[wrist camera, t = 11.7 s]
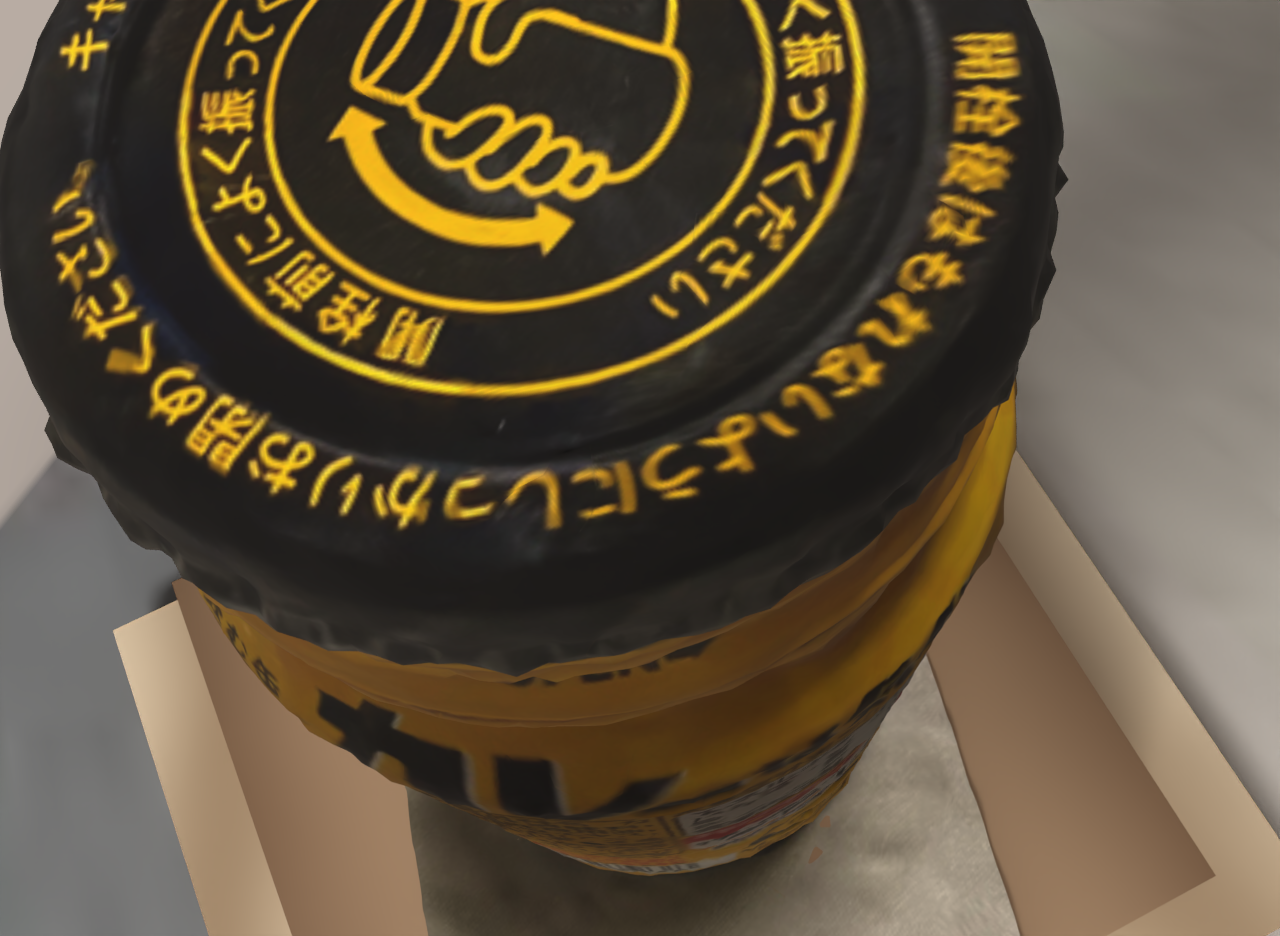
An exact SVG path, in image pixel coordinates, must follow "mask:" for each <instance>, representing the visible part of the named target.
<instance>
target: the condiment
mask: <svg viewBox="0 0 1280 936" xmlns="http://www.w3.org/2000/svg"><path fill="white" fill-rule="evenodd" d="M1063 137H1064V130H1063V123H1062V117H1061V110H1060V103H1059V97H1058V93H1057V89H1056V84H1055V80H1054V76H1053V72H1052V68H1051V64H1050V61H1049V57H1048V54H1047V50H1046V47H1045V43H1044V40H1043V38H1042V35H1041V33H1040V31H1039V29H1038V26H1037V24H1036V22H1035V20H1034V18H1033V15H1032V13H1031V11H1030V8H1029V6H1028V3H1027V1H1026V0H59V2H58V4H57V6H56V7H55V9H54V11H53V13H52V14H51V16H50V18H49V20H48V22H47V24H46V26H45V28H44V29H43V31H42V33H41V35H40V37H39V39H38V42H37V46H36V49H35V53H34V56H33V60H32V63H31V66H30V69H29V72H28V75H27V78H26V81H25V84H24V87H23V90H22V91H21V94H20V95H19V98H18V99H17V101H16V103H15V105H14V107H13V109H12V111H11V113H10V115H9V117H8V120H7V123H6V128H5V131H4V135H3V138H2V142H1V148H0V271H1V278H2V286H3V296H4V305H5V310H6V314H7V318H8V323H9V327H10V331H11V335H12V339H13V341H14V343H15V345H16V347H17V349H18V351H19V353H20V355H21V357H22V359H23V362H24V364H25V366H26V369H27V371H28V374H29V376H30V379H31V381H32V384H33V385H34V387H35V389H36V391H37V393H38V395H39V396H40V398H41V400H42V402H43V403H44V405H45V407H46V409H47V411H48V413H49V415H50V417H49V419H48V422H47V425H46V427H45V432H46V434H47V436H48V438H49V440H50V442H51V443H52V446H53V448H54V451H55V453H56V456H57V458H59V459H60V460H62V461H64V462H66V463H68V464H69V465H71V466H73V467H75V468H77V469H79V470H81V471H84V472H86V473H88V474H91V475H92V476H93V477H94V479H95V480H96V481H97V482H98V485H99V488H100V491H101V493H102V496H103V499H104V500H105V502H106V504H107V505H108V507H109V509H110V511H111V512H112V514H113V515H114V517H115V518H116V520H117V521H118V523H119V524H120V526H121V527H122V528H123V530H124V531H125V533H126V534H127V536H128V537H129V539H130V540H131V541H133V542H134V543H136V544H138V545H139V546H141V547H143V548H145V549H149V550H161V551H163V552H164V553H166V554H167V555H168V556H170V557H171V558H172V559H173V561H174V563H175V565H176V567H177V569H178V571H179V573H180V575H181V577H182V578H183V579H185V580H187V581H189V582H191V583H193V584H194V585H195V586H197V588H198V590H199V592H200V595H201V596H202V598H203V599H204V601H205V602H206V604H207V605H208V607H209V609H210V610H211V612H212V613H213V615H214V617H215V619H216V620H217V622H218V624H219V626H220V627H221V629H222V631H223V633H224V634H225V635H226V637H227V638H228V639H229V641H230V642H231V644H232V645H233V646H234V648H235V649H236V651H237V652H238V653H239V655H240V656H241V658H242V659H243V661H244V662H245V663H246V665H247V666H248V667H249V668H250V669H251V670H252V671H253V673H254V674H255V675H256V676H257V678H258V679H259V680H260V681H261V682H262V684H263V685H264V686H265V687H266V688H267V689H268V690H269V691H270V692H271V694H272V695H273V696H274V697H275V698H276V699H277V700H278V701H279V702H280V703H281V704H282V705H283V706H284V707H285V708H286V709H287V710H288V711H289V712H291V713H292V714H294V715H295V716H297V717H298V718H299V719H300V721H301V722H302V724H303V725H304V726H305V728H306V729H307V730H308V731H309V732H311V733H312V734H314V735H316V736H318V737H320V738H322V739H324V740H326V741H327V742H329V743H331V744H333V745H335V746H337V747H340V748H342V749H344V750H347V751H348V752H350V753H352V754H353V755H354V756H355V757H356V758H357V759H358V760H359V761H360V762H361V763H362V764H364V765H366V766H368V767H370V768H372V769H374V770H376V771H377V772H378V773H380V774H381V775H383V776H384V777H385V778H387V779H388V780H389V781H391V782H393V783H397V784H400V785H404V786H405V788H406V791H407V798H408V810H409V820H410V829H411V836H412V844H413V847H414V851H415V855H416V862H417V869H418V875H419V881H420V887H421V895H422V906H423V912H424V916H425V921H426V926H427V931H428V936H1020V934H1019V930H1018V927H1017V923H1016V920H1015V916H1014V913H1013V911H1012V908H1011V905H1010V902H1009V898H1008V896H1007V893H1006V890H1005V887H1004V884H1003V882H1002V879H1001V876H1000V873H999V871H998V868H997V865H996V862H995V859H994V856H993V853H992V850H991V847H990V844H989V840H988V837H987V833H986V829H985V826H984V823H983V820H982V817H981V813H980V810H979V808H978V805H977V802H976V800H975V797H974V794H973V792H972V790H971V788H970V785H969V782H968V779H967V776H966V773H965V769H964V766H963V763H962V759H961V756H960V753H959V749H958V746H957V742H956V739H955V736H954V733H953V730H952V727H951V724H950V722H949V720H948V717H947V714H946V711H945V709H944V706H943V702H942V699H941V696H940V693H939V690H938V687H937V684H936V681H935V679H934V676H933V673H932V670H931V667H930V664H929V662H928V659H927V656H926V653H927V651H928V650H929V648H930V646H931V645H932V642H933V640H934V638H935V637H936V636H937V634H938V633H939V632H940V630H941V629H942V628H943V625H944V624H945V622H946V621H947V620H948V619H949V617H950V616H951V614H952V613H953V611H954V609H955V608H956V606H957V605H958V603H959V601H960V599H961V597H962V595H963V594H964V591H965V589H966V587H967V585H968V584H969V582H970V581H971V579H972V577H973V576H974V574H975V573H976V571H977V570H978V568H979V567H980V566H981V565H982V564H983V563H984V562H985V561H986V560H987V558H988V557H989V556H990V555H991V552H992V549H993V545H994V543H995V541H996V539H997V537H998V535H999V533H1000V531H1001V528H1002V526H1003V524H1004V498H1005V491H1006V484H1007V477H1008V473H1009V469H1010V465H1011V461H1012V457H1013V455H1014V453H1015V450H1016V405H1015V399H1016V395H1017V383H1016V374H1017V371H1018V362H1019V359H1020V357H1021V355H1022V353H1023V351H1024V349H1025V347H1026V345H1027V341H1028V337H1029V333H1030V330H1031V328H1032V327H1033V326H1034V325H1035V324H1036V322H1037V321H1038V320H1039V319H1040V314H1041V309H1042V304H1043V299H1044V297H1045V295H1046V292H1047V290H1048V288H1049V285H1050V283H1051V281H1052V279H1053V276H1054V274H1055V272H1056V268H1055V265H1054V262H1053V259H1052V256H1051V249H1052V245H1053V242H1054V238H1055V234H1056V231H1057V221H1058V209H1057V205H1056V201H1055V197H1056V196H1057V194H1058V193H1059V192H1060V190H1061V189H1062V188H1063V186H1064V185H1065V184H1066V182H1067V181H1068V178H1067V177H1066V175H1065V173H1064V172H1063V170H1062V169H1061V167H1060V165H1059V164H1058V159H1059V155H1060V153H1061V150H1062V148H1063ZM826 815H828V816H830V824H831V826H830V827H820V825H819V824H820V822H821V821H822V820H823V818H824V817H825V816H826ZM816 846H817V847H818V848H819V849H821V850H822V851H823V853H822V854H821V855H820V856H819V857H818V859H816V860H815V861H814V862H812V863H810V864H809V863H808V862H809V859H810V856H811V854H812V851H813V849H814V848H815V847H816Z"/></svg>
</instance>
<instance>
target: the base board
mask: <svg viewBox="0 0 1280 936" xmlns="http://www.w3.org/2000/svg"><path fill="white" fill-rule="evenodd" d="M172 585H173V588H174V591H175V594H176V597H177V600H176V601H174V602H172V603H170V604H168V605H166V606H163V607H161V608H159V609H157V610H155V611H153V612H151V613H149V614H147V615H145V616H143V617H140V618H138V619H136V620H134V621H132V622H130V623H128V624H126V625H124V626H122V627H120V628H117V629H115V630H113V632H114V635H115V638H116V642H117V645H118V648H119V651H120V654H121V658H122V661H123V664H124V667H125V670H126V673H127V677H128V680H129V683H130V686H131V689H132V692H133V696H134V699H135V702H136V705H137V708H138V712H139V715H140V718H141V721H142V724H143V727H144V731H145V734H146V737H147V740H148V743H149V747H150V750H151V753H152V756H153V759H154V762H155V766H156V769H157V772H158V775H159V778H160V781H161V785H162V788H163V791H164V794H165V797H166V801H167V804H168V807H169V810H170V813H171V816H172V820H173V823H174V826H175V829H176V832H177V835H178V839H179V842H180V845H181V848H182V851H183V855H184V858H185V861H186V864H187V867H188V870H189V874H190V877H191V880H192V883H193V886H194V890H195V893H196V896H197V899H198V902H199V905H200V909H201V912H202V915H203V918H204V921H205V924H206V928H207V931H208V934H209V936H428V931H427V926H426V921H425V916H424V912H423V906H422V895H421V887H420V881H419V875H418V869H417V862H416V855H415V851H414V847H413V844H412V836H411V829H410V820H409V810H408V798H407V791H406V788H405V786H404V785H400V784H397V783H393V782H391V781H389V780H388V779H387V778H385V777H384V776H383V775H381V774H380V773H378V772H377V771H376V770H374V769H372V768H370V767H368V766H366V765H364V764H362V763H361V762H360V761H359V760H358V759H357V758H356V757H355V756H354V755H353V754H352V753H350V752H348V751H347V750H344V749H342V748H340V747H337V746H335V745H333V744H331V743H329V742H327V741H326V740H324V739H322V738H320V737H318V736H316V735H314V734H312V733H311V732H309V731H308V730H307V729H306V728H305V726H304V725H303V724H302V722H301V721H300V719H299V718H298V717H297V716H295V715H294V714H292V713H291V712H289V711H288V710H287V709H286V708H285V707H284V706H283V705H282V704H281V703H280V702H279V701H278V700H277V699H276V698H275V697H274V696H273V695H272V694H271V692H270V691H269V690H268V689H267V688H266V687H265V686H264V685H263V684H262V682H261V681H260V680H259V679H258V678H257V676H256V675H255V674H254V673H253V671H252V670H251V669H250V668H249V667H248V666H247V665H246V663H245V662H244V661H243V659H242V658H241V656H240V655H239V653H238V652H237V651H236V649H235V648H234V646H233V645H232V644H231V642H230V641H229V639H228V638H227V637H226V635H225V634H224V633H223V631H222V629H221V627H220V626H219V624H218V622H217V620H216V619H215V617H214V615H213V613H212V612H211V610H210V609H209V607H208V605H207V604H206V602H205V601H204V599H203V598H202V596H201V595H200V592H199V590H198V588H197V586H195V585H194V584H193V583H191V582H189V581H187V580H185V579H183V578H180V579H178V580H176V581H174V582H172ZM926 656H927V659H928V662H929V664H930V667H931V670H932V673H933V676H934V679H935V681H936V684H937V687H938V690H939V693H940V696H941V699H942V702H943V706H944V709H945V711H946V714H947V717H948V720H949V722H950V724H951V727H952V730H953V733H954V736H955V739H956V742H957V746H958V749H959V753H960V756H961V759H962V763H963V766H964V769H965V773H966V776H967V779H968V782H969V785H970V788H971V790H972V792H973V794H974V797H975V800H976V802H977V805H978V808H979V810H980V813H981V817H982V820H983V823H984V826H985V829H986V833H987V837H988V840H989V844H990V847H991V850H992V853H993V856H994V859H995V862H996V865H997V868H998V871H999V873H1000V876H1001V879H1002V882H1003V884H1004V887H1005V890H1006V893H1007V896H1008V898H1009V902H1010V905H1011V908H1012V911H1013V913H1014V916H1015V920H1016V923H1017V927H1018V930H1019V934H1020V936H1266V935H1268V934H1269V933H1271V932H1273V931H1275V930H1277V929H1278V928H1280V839H1279V838H1278V836H1277V835H1276V833H1275V832H1274V830H1273V829H1272V827H1271V826H1270V824H1269V823H1268V821H1267V820H1266V818H1265V817H1264V815H1263V814H1262V812H1261V811H1260V809H1259V808H1258V807H1257V805H1256V804H1255V802H1254V801H1253V799H1252V798H1251V796H1250V795H1249V793H1248V792H1247V790H1246V789H1245V787H1244V786H1243V784H1242V783H1241V781H1240V780H1239V778H1238V777H1237V775H1236V774H1235V773H1234V771H1233V770H1232V768H1231V767H1230V765H1229V764H1228V762H1227V761H1226V759H1225V758H1224V756H1223V755H1222V753H1221V752H1220V750H1219V749H1218V747H1217V746H1216V744H1215V743H1214V741H1213V740H1212V738H1211V737H1210V736H1209V734H1208V733H1207V731H1206V730H1205V728H1204V727H1203V725H1202V724H1201V722H1200V721H1199V719H1198V718H1197V716H1196V715H1195V713H1194V712H1193V710H1192V709H1191V707H1190V706H1189V704H1188V703H1187V702H1186V700H1185V699H1184V697H1183V696H1182V694H1181V693H1180V691H1179V690H1178V688H1177V687H1176V685H1175V684H1174V682H1173V681H1172V679H1171V678H1170V676H1169V675H1168V673H1167V672H1166V670H1165V669H1164V667H1163V666H1162V665H1161V663H1160V662H1159V660H1158V659H1157V657H1156V656H1155V654H1154V653H1153V651H1152V650H1151V648H1150V647H1149V645H1148V644H1147V642H1146V641H1145V639H1144V638H1143V636H1142V635H1141V633H1140V632H1139V631H1138V629H1137V628H1136V626H1135V625H1134V623H1133V622H1132V620H1131V619H1130V617H1129V616H1128V614H1127V613H1126V611H1125V610H1124V608H1123V607H1122V605H1121V604H1120V602H1119V601H1118V599H1117V598H1116V596H1115V595H1114V594H1113V592H1112V591H1111V589H1110V588H1109V586H1108V585H1107V583H1106V582H1105V580H1104V579H1103V577H1102V576H1101V574H1100V573H1099V571H1098V570H1097V568H1096V567H1095V565H1094V564H1093V562H1092V561H1091V560H1090V558H1089V557H1088V555H1087V554H1086V552H1085V551H1084V549H1083V548H1082V546H1081V545H1080V543H1079V542H1078V540H1077V539H1076V537H1075V536H1074V534H1073V533H1072V531H1071V530H1070V528H1069V527H1068V526H1067V524H1066V523H1065V521H1064V520H1063V518H1062V517H1061V515H1060V514H1059V512H1058V511H1057V509H1056V508H1055V506H1054V505H1053V503H1052V502H1051V500H1050V499H1049V497H1048V496H1047V494H1046V493H1045V491H1044V490H1043V489H1042V487H1041V486H1040V484H1039V483H1038V481H1037V480H1036V478H1035V477H1034V475H1033V474H1032V472H1031V471H1030V469H1029V468H1028V466H1027V465H1026V463H1025V462H1024V460H1023V459H1022V457H1021V456H1020V455H1019V453H1018V452H1017V450H1015V453H1014V455H1013V457H1012V461H1011V465H1010V469H1009V473H1008V477H1007V484H1006V491H1005V498H1004V524H1003V526H1002V528H1001V531H1000V533H999V535H998V537H997V539H996V541H995V543H994V545H993V549H992V552H991V555H990V556H989V557H988V558H987V560H986V561H985V562H984V563H983V564H982V565H981V566H980V567H979V568H978V570H977V571H976V573H975V574H974V576H973V577H972V579H971V581H970V582H969V584H968V585H967V587H966V589H965V591H964V594H963V595H962V597H961V599H960V601H959V603H958V605H957V606H956V608H955V609H954V611H953V613H952V614H951V616H950V617H949V619H948V620H947V621H946V622H945V624H944V625H943V628H942V629H941V630H940V632H939V633H938V634H937V636H936V637H935V638H934V640H933V642H932V645H931V646H930V648H929V650H928V651H927V653H926ZM819 825H820V827H830V826H831V824H830V816H828V815H826V816H825V817H824V818H823V820H822V821H821V822H820V824H819ZM822 853H823V851H822V850H821V849H819V848H818V847H817V846H816V847H815V848H814V849H813V851H812V854H811V856H810V859H809V862H808V863H809V864H810V863H812V862H814V861H815V860H816V859H818V857H819V856H820V855H821V854H822Z"/></svg>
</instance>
